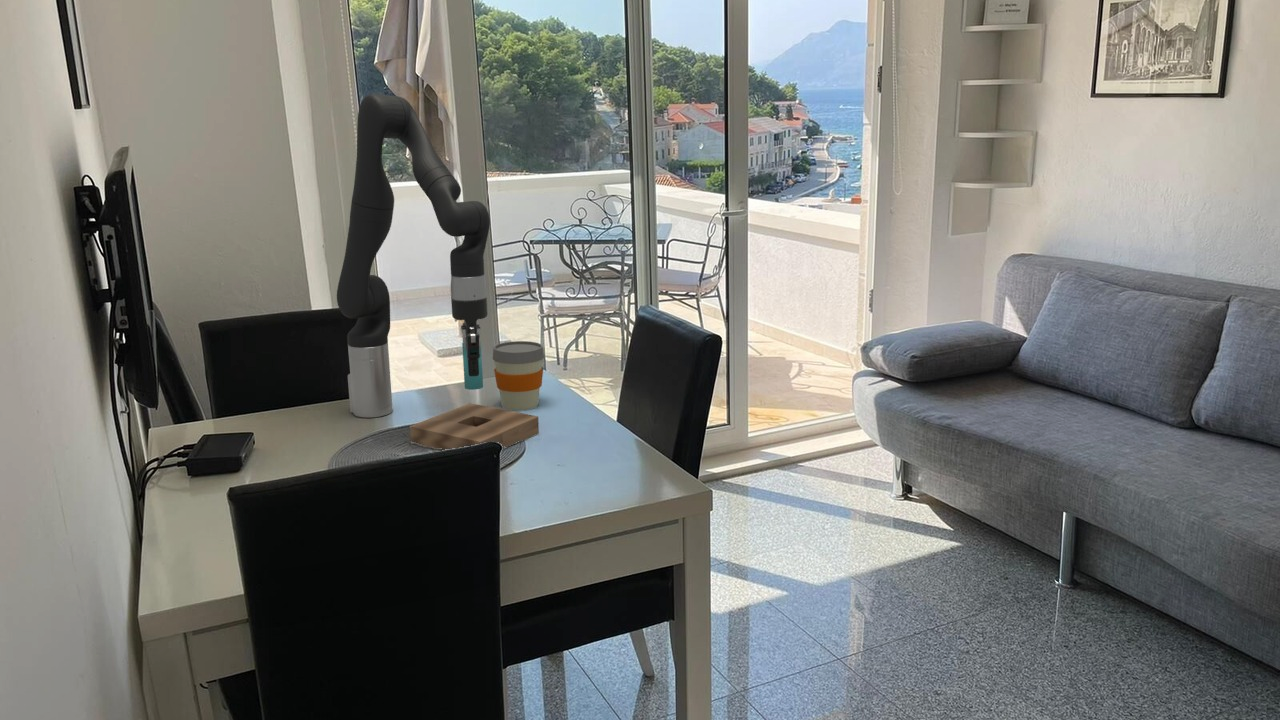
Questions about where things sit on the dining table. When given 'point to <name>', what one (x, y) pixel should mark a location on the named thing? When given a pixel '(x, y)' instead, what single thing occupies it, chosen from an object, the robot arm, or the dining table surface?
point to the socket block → (474, 427)
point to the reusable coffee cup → (518, 373)
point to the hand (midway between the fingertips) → (473, 372)
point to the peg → (469, 381)
